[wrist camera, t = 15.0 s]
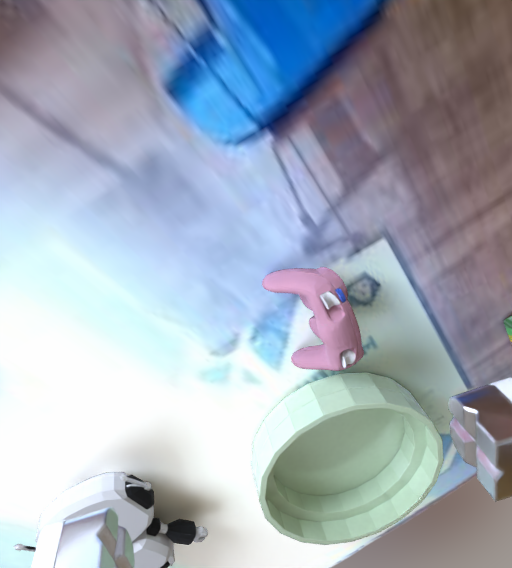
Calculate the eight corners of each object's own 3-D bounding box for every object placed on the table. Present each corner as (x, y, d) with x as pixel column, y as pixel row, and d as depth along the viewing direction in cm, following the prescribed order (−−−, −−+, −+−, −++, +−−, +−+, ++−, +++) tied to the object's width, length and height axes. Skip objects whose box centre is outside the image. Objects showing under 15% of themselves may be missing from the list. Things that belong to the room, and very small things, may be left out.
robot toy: (212, 507, 51) (118, 439, 44) (218, 547, 48) (117, 480, 40) (123, 564, 53) (16, 507, 45) (122, 607, 49) (6, 553, 41)
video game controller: (323, 337, 45) (381, 363, 40) (289, 366, 43) (344, 397, 38) (293, 249, 40) (354, 264, 35) (254, 277, 39) (311, 297, 33)
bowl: (411, 346, 46) (438, 378, 41) (423, 472, 54) (446, 510, 50) (230, 403, 44) (238, 442, 40) (271, 522, 53) (282, 565, 49)
